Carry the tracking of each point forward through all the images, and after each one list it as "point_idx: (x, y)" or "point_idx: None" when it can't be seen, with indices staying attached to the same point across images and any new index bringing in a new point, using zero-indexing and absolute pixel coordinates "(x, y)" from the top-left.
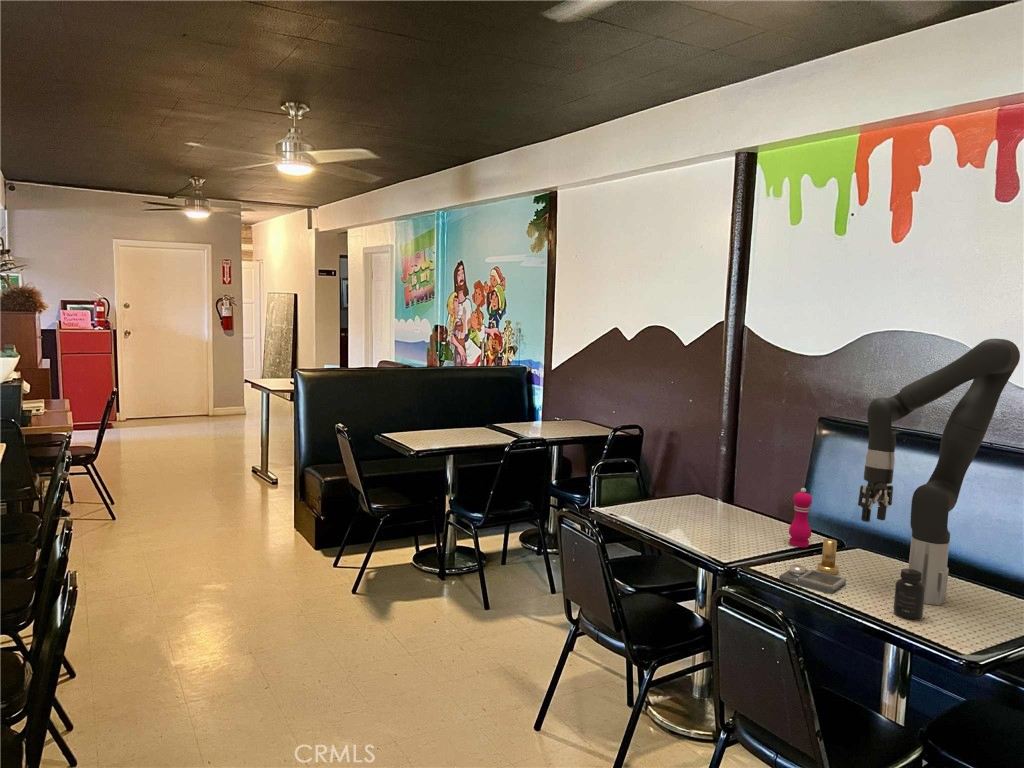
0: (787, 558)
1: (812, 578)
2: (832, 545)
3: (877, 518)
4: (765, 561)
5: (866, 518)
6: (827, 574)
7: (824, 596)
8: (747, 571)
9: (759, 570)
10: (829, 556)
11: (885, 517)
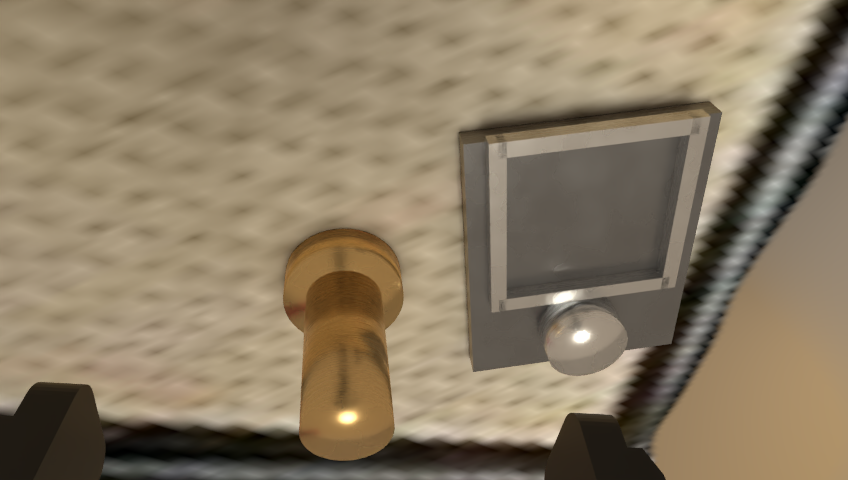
0: None
1: (593, 254)
2: (376, 387)
3: (100, 459)
4: (460, 456)
5: (659, 473)
6: (506, 235)
7: (767, 107)
8: (650, 425)
9: None
10: (381, 334)
11: (13, 418)
